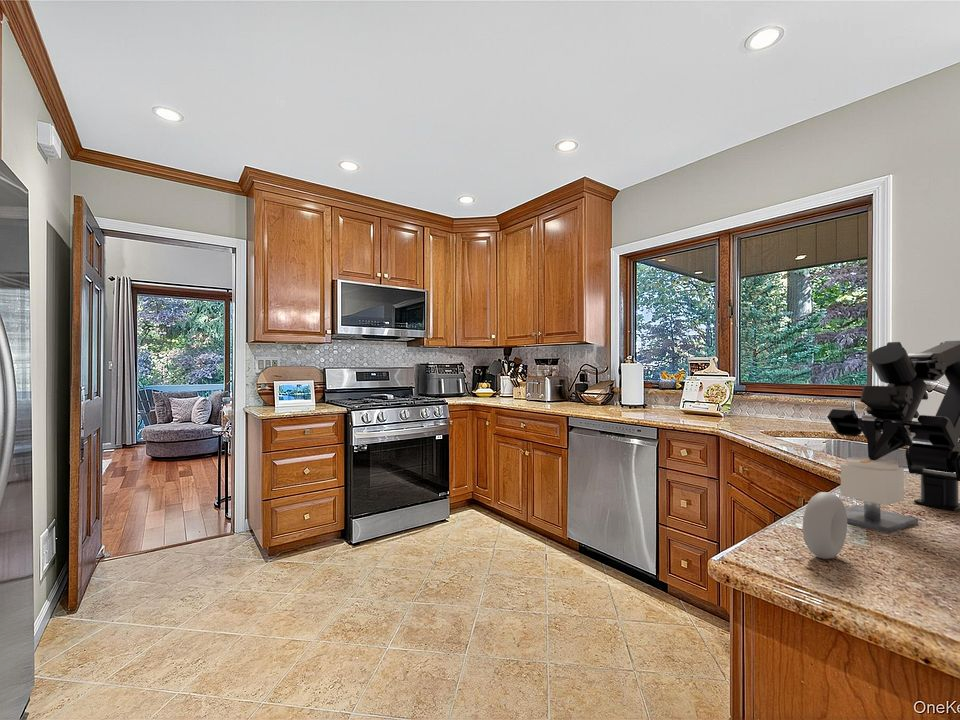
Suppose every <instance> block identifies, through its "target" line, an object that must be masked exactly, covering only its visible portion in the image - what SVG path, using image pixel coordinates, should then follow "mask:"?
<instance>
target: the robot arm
mask: <svg viewBox="0 0 960 720" xmlns="http://www.w3.org/2000/svg"><path fill="white" fill-rule="evenodd" d="M868 360H869V362H870V364H871V367H872V368H873V369H874V372H875V373H876V375H877V377H878V380H880V382H881V383H885V384H887V385H864V386H863V387H862V392H861V395H860V396H861V397H860V400H859V401H860V402H861V403H863V404H864V405H866V409H865V411H866V413H867V414H862V416H861V418H860V417H859V416H858V415H857V413H856V411H855V410H854V409H841V408H840V409H838V408H832V409H831V410H829V413H828V415H827V420H829V422H830V424H831V426H832V427H833V429H834V431H835V432H836V434H838V435H840V436H844V437H845V436H847V437H854V438H855V437H857V436H860V435H861V434H863V436H864V438H865V439H866V441H867V455H868V456H867V458H869V459H870V460H877V459H881V458H883V457H884V456H886V455H887V456H888V454H890V453H892V452H895V451H897V450H900V449H901V448H905V447H906V449H905V460H906V463H907V464H906V465H907V468H908V473H909V474H912V475H913V474H914V475H920V498H918V499H917V498H916V499H913V503H914V504H919V505H924V506H928V507H929V506H930V507H934V508H940V509H944V510H949V511H957V510H960V502H959V501H960V500H959V482H960V442H959V441H960V340H946V341H944V342H943V341H942V342H940V343H939V345H935V346H933V347H931V348H929V349H926V350H923V351H921V352H911V353H908V352H907V350H906V349H905V347H903V345H902V343H901V341H889V342H887V343H886V345H883V346H880V347H878V348H876V349H874V350H873V351H871V352H869V354H868ZM943 376H945V378H946V380H947V382H948V387H947V388H946V391H945V393H944V395H943V398H942V400H941V402H940V405H939V407H938V409H937V410H936V414H935V415H927V414H926V415H925V414H922V415H921V414H919V412H918V409H919V406H920V404H921V402H922V401H923V400H925V401H927V400H928V399H929V394H928V392H927V389H928V385H927V383H926V382H937V381H939V380H940V379H941V378H942V377H943ZM913 419H917V421H916V420H913Z"/></svg>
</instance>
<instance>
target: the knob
mask: <svg viewBox="0 0 960 720" xmlns="http://www.w3.org/2000/svg"><path fill="white" fill-rule="evenodd" d="M904 471H905V470H904V467H899V463H898V462H897V461H892V460H888V459H881V458H879V459H877V460H870V459H869V457H859V456H857V457H856V456H853V457H851V456H850V457H846V458H845V463H840V497H841V496H842V497H846V498H850V499H856V500H860V501H863V502H864V501H869V502H874V503H878V504H880V505H883V506H888V505H892V504H895V503H899V502H904V501H905V481H904V480H905V478H904V477H905V476H904V475H905V474H904V473H905V472H904Z"/></svg>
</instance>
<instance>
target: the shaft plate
mask: <svg viewBox="0 0 960 720" xmlns="http://www.w3.org/2000/svg"><path fill="white" fill-rule="evenodd" d="M845 509H846V514H847V524H849V525H853V526H857V527H861V528H864V529H868V530H872V531H877V532H880V533H885V534H890V533H894V532H897V531H899V530H903V529H906V528H909V527H912V526H915V525H918V524H919V517H918V518H917V517H913V516H909V515H904V514H900V513H896V512H891V511H887V510H883V509H881V504H878V503H874V502H869V501H864V500H863V505H860V504H856V505H851V506H848V507H845Z"/></svg>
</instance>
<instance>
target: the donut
mask: <svg viewBox="0 0 960 720" xmlns="http://www.w3.org/2000/svg"><path fill="white" fill-rule="evenodd" d="M845 508H846V506H845V504H844V502H843V501H842V499H841V498H840V497H839V496H837V495H836V494H834V493H832V492H828V491H827V492H826V491H820V492H817V493H816V494H814V495H813V496H812V497H811V498H810V499H809V501H808V503H807V504H806V507H805V510H804V514H803V521H802V533H803V534H802V535H803V539H804V543H805V545H806V547H807V550H808V551H809V552H810V553H812V554H813V555H814V556H815V557H817V558H819V559H824V560H827V559H833V558H835V557H837V555H838V554H840V552H841V550H842V549H843V547H844V544H845V542H846V538H847V533H848V532H847V531H848V523H847V514H846V509H845Z"/></svg>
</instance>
